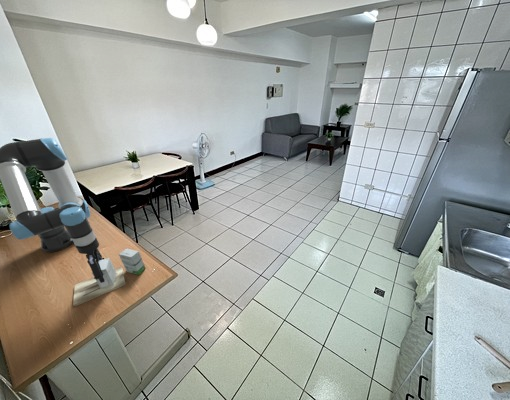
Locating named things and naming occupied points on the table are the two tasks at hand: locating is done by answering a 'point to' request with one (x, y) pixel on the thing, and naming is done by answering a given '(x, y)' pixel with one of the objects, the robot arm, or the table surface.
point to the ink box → (132, 261)
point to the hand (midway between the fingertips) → (105, 278)
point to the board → (95, 288)
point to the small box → (107, 271)
